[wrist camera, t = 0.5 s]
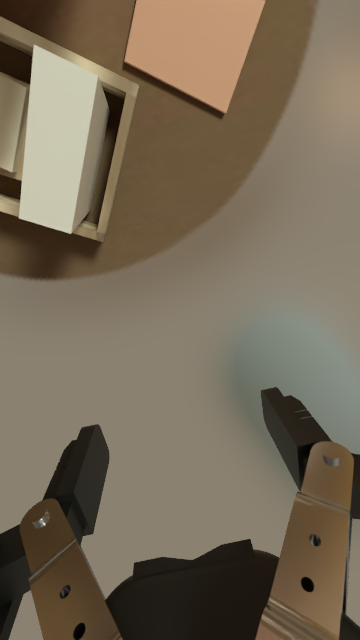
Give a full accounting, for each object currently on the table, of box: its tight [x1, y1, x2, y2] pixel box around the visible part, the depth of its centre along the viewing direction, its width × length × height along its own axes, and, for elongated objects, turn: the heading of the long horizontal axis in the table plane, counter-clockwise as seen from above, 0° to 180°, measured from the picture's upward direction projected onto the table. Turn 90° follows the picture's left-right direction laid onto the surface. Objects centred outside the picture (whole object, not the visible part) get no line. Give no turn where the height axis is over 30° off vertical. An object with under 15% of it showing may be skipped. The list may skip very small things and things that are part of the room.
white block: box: [19, 45, 110, 234], centre depth 26 cm, size 4×11×14 cm, turn 160°
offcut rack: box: [0, 17, 139, 242], centre depth 29 cm, size 16×16×4 cm
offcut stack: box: [0, 72, 30, 181], centre depth 28 cm, size 5×9×4 cm, turn 160°
